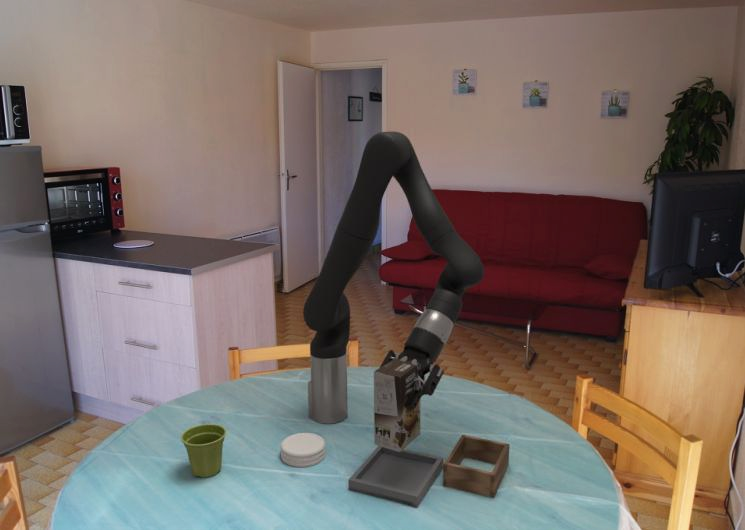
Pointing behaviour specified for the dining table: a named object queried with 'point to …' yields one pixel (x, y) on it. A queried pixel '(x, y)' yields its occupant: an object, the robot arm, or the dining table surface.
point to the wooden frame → (472, 477)
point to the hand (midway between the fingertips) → (393, 403)
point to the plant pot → (204, 448)
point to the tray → (396, 475)
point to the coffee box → (395, 405)
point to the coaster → (303, 449)
